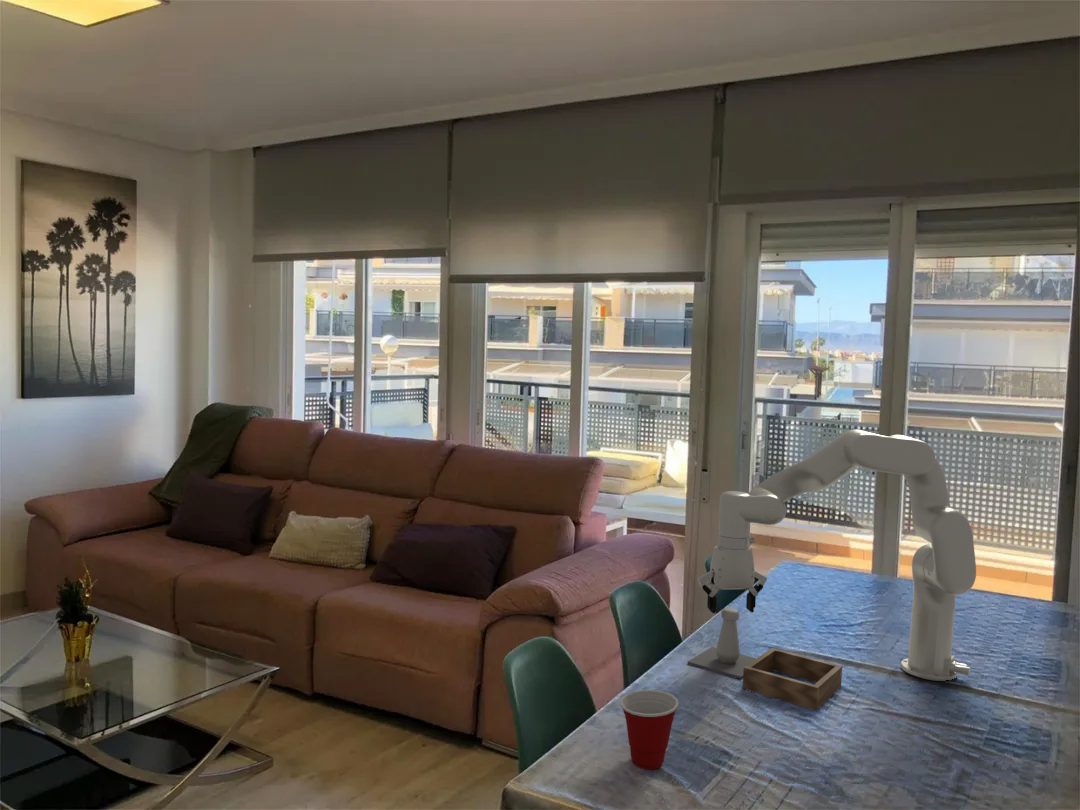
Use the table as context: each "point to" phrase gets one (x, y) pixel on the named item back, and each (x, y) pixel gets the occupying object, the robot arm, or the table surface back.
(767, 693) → the frame
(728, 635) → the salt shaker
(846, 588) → the table surface
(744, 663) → the coaster
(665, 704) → the plastic cup
